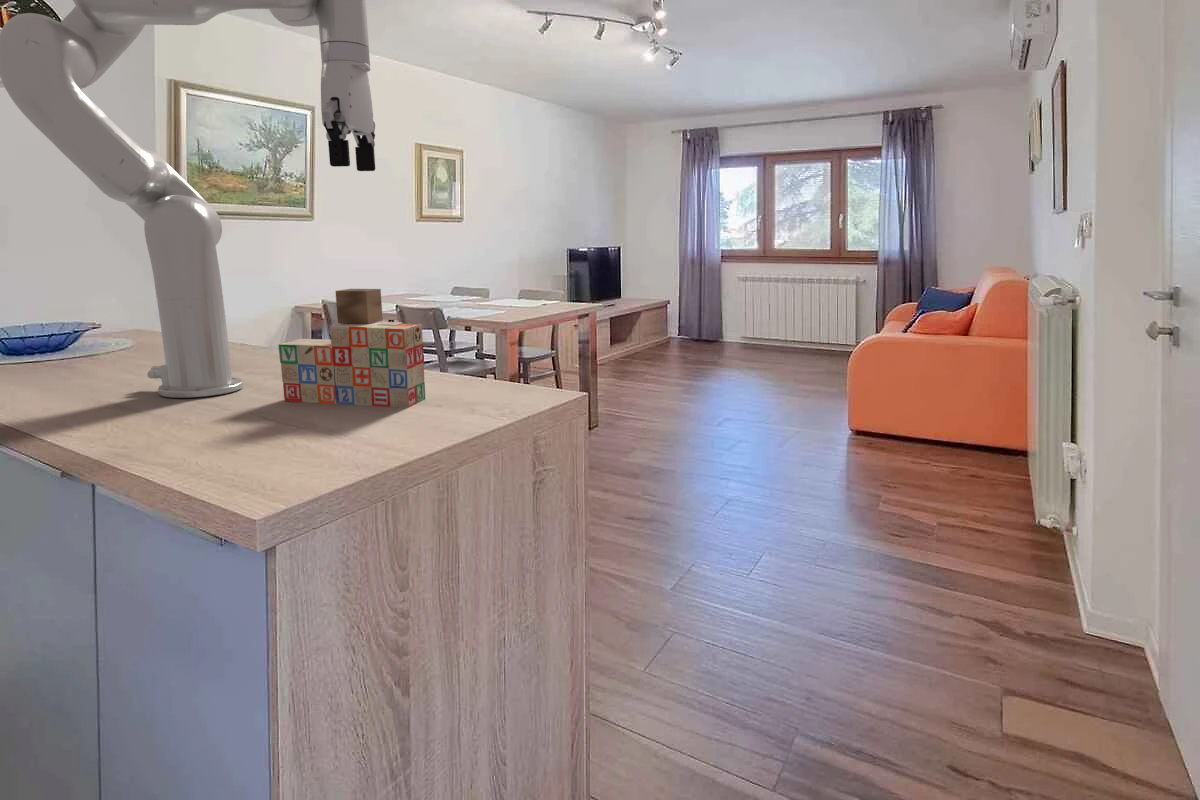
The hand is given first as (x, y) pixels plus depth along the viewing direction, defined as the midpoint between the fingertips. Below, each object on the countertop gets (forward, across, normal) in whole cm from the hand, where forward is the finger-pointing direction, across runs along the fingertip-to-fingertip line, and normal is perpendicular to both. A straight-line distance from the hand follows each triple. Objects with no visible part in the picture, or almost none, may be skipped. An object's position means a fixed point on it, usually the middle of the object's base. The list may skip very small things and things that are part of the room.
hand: (353, 168), depth 126 cm
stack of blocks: (+37, +16, +5) cm, 40 cm away
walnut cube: (+24, +13, +6) cm, 28 cm away
